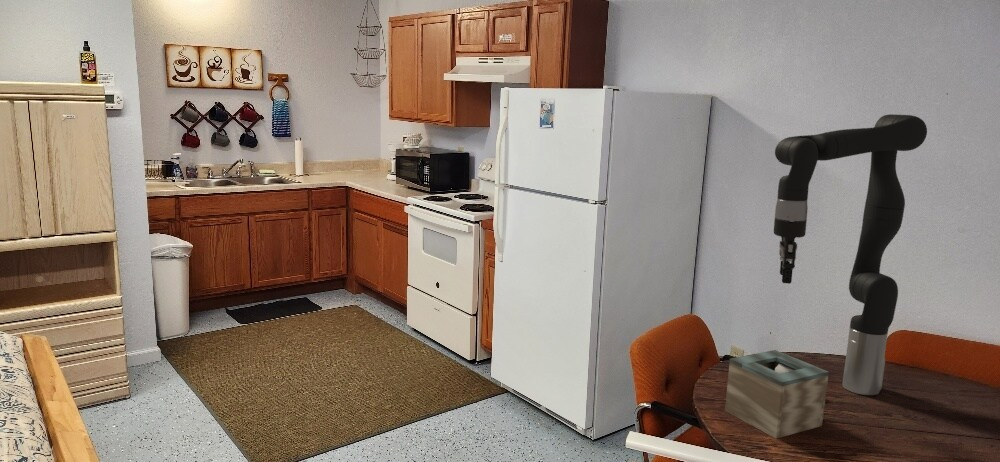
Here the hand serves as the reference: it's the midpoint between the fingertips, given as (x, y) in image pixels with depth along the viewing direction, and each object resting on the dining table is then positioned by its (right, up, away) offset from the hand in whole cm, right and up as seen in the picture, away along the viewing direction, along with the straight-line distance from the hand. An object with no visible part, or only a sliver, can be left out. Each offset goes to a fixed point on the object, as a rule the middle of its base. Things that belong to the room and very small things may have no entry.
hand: (785, 278), depth 177 cm
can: (-5, -33, -6) cm, 34 cm away
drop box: (-6, -34, -6) cm, 35 cm away
